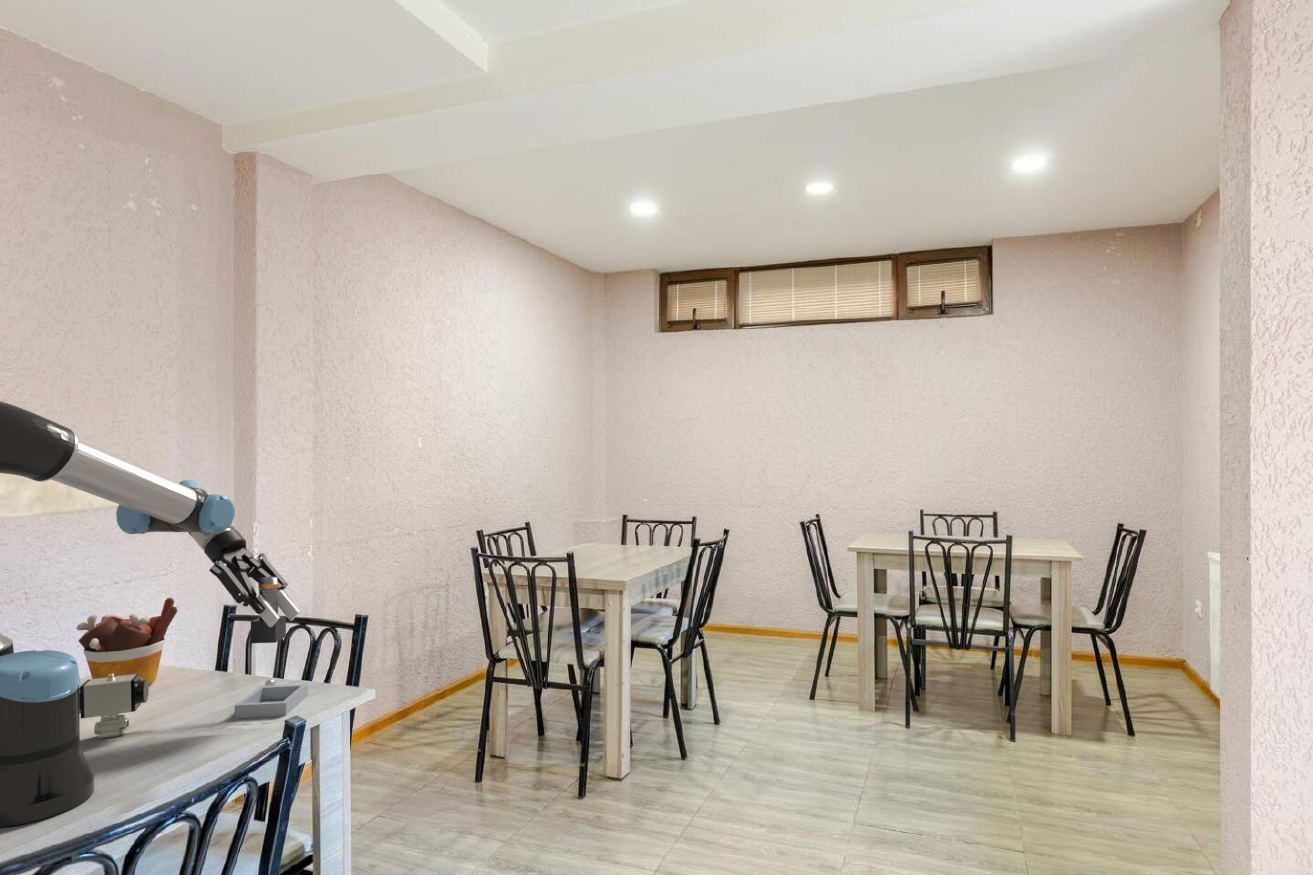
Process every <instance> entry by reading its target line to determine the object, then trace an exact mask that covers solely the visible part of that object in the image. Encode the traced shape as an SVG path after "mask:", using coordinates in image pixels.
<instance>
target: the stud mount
mask: <svg viewBox="0 0 1313 875" xmlns="http://www.w3.org/2000/svg"><path fill="white" fill-rule="evenodd" d="M276 683H277V682H276V681H275V679H273V678H269V679H267V680H266V681H265V682H264V686H277V685H276Z"/></svg>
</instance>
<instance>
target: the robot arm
mask: <svg viewBox="0 0 1313 875" xmlns="http://www.w3.org/2000/svg"><path fill="white" fill-rule="evenodd" d="M0 474H7V475H15V476H18V477H23V478H27V479H30V480H33V481H35V482H40V483H41V482H42V483H44V482H47V481H50V480H51V481H55V482H57V483H60V484H63V485H65V486H68V487H70V488H72V489H73V488H74V489H77V490H79V491H80V492H81V491H82V492H85V493H88V494H90V495H93V496H95V497H99V498H101V499H104V500H107V501H109V502H112V503H114V504H117V505H118V506H117V508H116V513H115V514H116V519H115V520H116V522H117V523H116V524H117V525H118V527H119V528H120V530H121V532H124V533H125V534H128V535H139V534H141V535H145V534H147V533H188V534H189V536H190V537H192V538H193V540H194V541H195V543H197V546H199V547H200V549H201V550H203V552H204V554H205V556H207V557H208V559H209V560H210V561H211V563H213V565H212V566H211V567H210V569H209V570H208V571H209V572H210V573H211V574H212V575H214V576H215V577H216V578H217V579H218V580H219V582H220V583H221V584H222V585H223V587H224V588H225V589H226V591H227V592H228V593H229V595H230V596H231V598H233V600H234V601H235V602H236V603H237V604H239V605H240V604H242V606H243V607H246V608H247V607H249V606H250V607H251V609H253V611H254V612H255V613H256V614H257V615H258V616H259V615H260V616H261V618H262V619H263V620H264V621H265V622H266V624H267V625H268V626H269V627H272V626H273V625H274V624H275V623H276V622H277V621H278V620H279V618H280V617H279V616H280V615H279V614H278V615H277V614H276V612H275V611H274V610H273V609H272V607H271V606H270V605H269V604H268V603H267V601H266V600H265V599H264V598H263V596H262V595H259V594H257V591H256V590H255V588H254V586H253V584H252V581H251V580H250V579H251V578H252V580H254V581H255V582H256V583H257V584H258V583H259V578H263V577H278V609H280V611H281V612H282V613H283V614H284V616H286V619H288V620H289V621H290V622H291V621H294V620H295V618H296V617H297V616H298V615H299V614H300V613H301V611H300V610H299V609H298V606H296V605H295V603H294V602H293V600H292V599H291V597H290V596H289V595H288V594H287V592H286V591H285V589H286V588H287V587H288V586H289V583H288V581H286V580H285V579H284V577H283V576H282V575H281V574H280V572H279V571H278V570H276V567H274V565H272V564H271V562H270V561H269V560H268V557H267V555H266V554H265V553H263V552H260V553H259V554H258V555H257V554H253V552H251V551H250V550H248V548H247V540H246V539H245V538H244V536H242V534H241V533H240V532H239V531H238V530H237V529H236V527H235V526H234V524H233V521H234V518H235V514H236V509H235V505H234V503H233V501H232V500H231V499H230V498H229V497H228V496H225V495H221V494H216V493H213V494H208V492H207V491H206V490H204V489H203V488H202V487H201V486H200V485H199V484H198V483H197V482H196V481H194V480H191V479H185V480H181V481H179V482H177V481H175V480H171V479H170V478H168V477H166V476H163V475H162V474H159V473H156V472H154V471H151V470H149V469H147V468H144V467H143V466H140V465H138V464H136V463H133V462H131V461H128V460H126V459H123V458H121V457H119V456H118V455H114V454H112V453H111V452H107V451H105V450H103V449H102V448H101V449H100V448H98V447H96V446H94V445H92V444H89V443H87V442H85V441H82V440H80V439H78V438H77V434H76V433H75V431H74V430H73V429H71V428H69V427H67V426H64V425H61V424H59V423H58V422H55V421H52V420H50V419H49V418H46V417H44V416H41V415H39V414H37V413H34V412H32V411H29V410H27V409H24V408H22V407H20V406H16V405H14V404H11V403H7V402H4V401H0ZM257 595H258V596H257ZM80 684H81V677H80V671H79V665H78V660H76V658H75V657H74V656H73V655H71V654H69V653H67V652H63V651H59V650H50V649H49V650H48V649H44V650H23V651H19V652H18V651H17V652H15V650H14V642H13V639H11V638H9V637H8V636H6V635H4V634H3V633H1V632H0V828H4V827H12V826H11V825H14V826H19V825H24V823H25V824H28V823H32V822H37V821H41V820H43V819H44V820H45V819H48V818H49V817H53V816H56V815H59V814H61V813H64V812H66V811H69V810H72V809H73V808H76V807H77V806H79V805H80V804H82V803H84V802H85V801H86V800H88V799H89V798H90V797H91V796H92V795H93V794H94V792H95V777H94V774H93V772H92V771H91V768H90V766H89V763H88V761H87V759H86V756H85V754H84V751H83V750H82V748H81V734H80V730H81V729H80V720H81V716H80V714H79V688H80V686H81V685H80Z"/></svg>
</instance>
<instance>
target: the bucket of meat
mask: <svg viewBox="0 0 1313 875" xmlns="http://www.w3.org/2000/svg"><path fill="white" fill-rule="evenodd" d="M174 604H175V600H174V598H173V597H167V598H166V599H165V600H164V603H163V607H162V609H161V613H160V615H159V616H152V617H150V618H148V617H147V616H143V617H141V618H140V617H139V615H138V614H136V613H132V614H131V613H130V615H128V616H129V617H128V618H125V617H122V616H118V615H113V614H109V615H107V614H106V615H104V616H102V617H101V620H100V622H98V623H97V619H98V615H97V614H92V615H90V616H88V618H86V620H87V621H86V622H84V621H83V622H80V623H79V624H78V625H77V626H76V630H77V631H86V632H85V633H84V634H83V635H82V636H81V637H80V638H79V639H78V643H79V644H80V645H81V646H82V648H83V650H82V651H83V654H84V656H85V660H86V662H87V666H88V669H89V674H90V675H91V679H99V678H107V677H108V674H114V677H116V676H124V675H133V674H140V678H142V680H147V681H148V686H151V685H152V684H153V683H154V682H155V681H156V680H157V675H158V671H159V667H160V662H161V658H162V653H163V649H164V645H165V643H166V642H165V640H166V639H165V636H166V633H167V632H168V628H169V626H170V625H171V622H172V621H173V620H174V619H175V616H176V615H177V613H178V607H176V606H175V605H174Z"/></svg>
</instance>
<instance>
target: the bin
mask: <svg viewBox="0 0 1313 875" xmlns="http://www.w3.org/2000/svg"><path fill="white" fill-rule="evenodd" d="M308 696H309V686H308V684H307V683H306V684H304V683H303V684H302V683H301V684H284V685H283V684H282V685H275V686H265V685H261V686H259V687H257V688H255V690H253V691H252V692H251V693H250V694H248V695H247V696H245V697H244V698H242V699H241V700H240V701H239V702H237V703H236V704H234V719H243V718H244V719H245V718H247V719H248V718H261V717H262V718H263V717H264V718H265V717H281V716H282V717H283V716H287V715H289V714H290V712H292V711H293V710H294V709H295V708H296V707H297V706H298V705H300V703H301V702H303V701H304V700H305V699H306V698H307V697H308ZM278 699H279V700H281V699H284V700H283V701H271V702H270V701H267V702H265V701H264V702H262V701H263V700H278ZM267 724H271V722H269V723H263V725H267ZM244 725H245V726H246V725H247V726H248V725H249V726H250V725H251V723H249V724H247V723H246V724H244Z"/></svg>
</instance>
